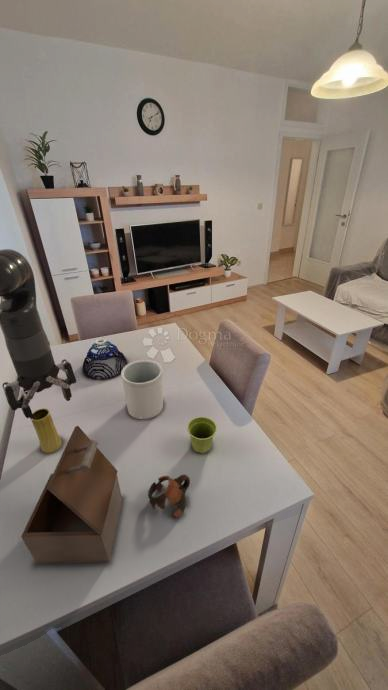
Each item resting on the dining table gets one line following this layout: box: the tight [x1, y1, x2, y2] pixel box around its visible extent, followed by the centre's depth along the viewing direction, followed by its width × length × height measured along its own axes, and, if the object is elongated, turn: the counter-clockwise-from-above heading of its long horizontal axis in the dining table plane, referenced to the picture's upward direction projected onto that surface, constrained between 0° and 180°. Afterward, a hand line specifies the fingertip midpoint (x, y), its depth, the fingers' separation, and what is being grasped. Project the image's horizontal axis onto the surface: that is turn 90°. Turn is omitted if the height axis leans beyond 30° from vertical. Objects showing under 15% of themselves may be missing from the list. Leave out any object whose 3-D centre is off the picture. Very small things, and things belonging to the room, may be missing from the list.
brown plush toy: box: [147, 474, 191, 519], centre depth 75 cm, size 12×10×8 cm
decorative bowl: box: [82, 338, 128, 381], centre depth 128 cm, size 20×20×14 cm
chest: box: [20, 473, 123, 564], centre depth 67 cm, size 17×15×12 cm
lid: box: [47, 425, 118, 534], centre depth 59 cm, size 18×15×6 cm
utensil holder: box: [120, 359, 164, 420], centre depth 104 cm, size 15×15×18 cm
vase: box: [30, 407, 63, 454], centre depth 88 cm, size 6×6×14 cm
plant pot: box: [186, 416, 218, 454], centre depth 90 cm, size 9×9×9 cm
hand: (49, 407), depth 66 cm, fingers open, 8 cm apart
